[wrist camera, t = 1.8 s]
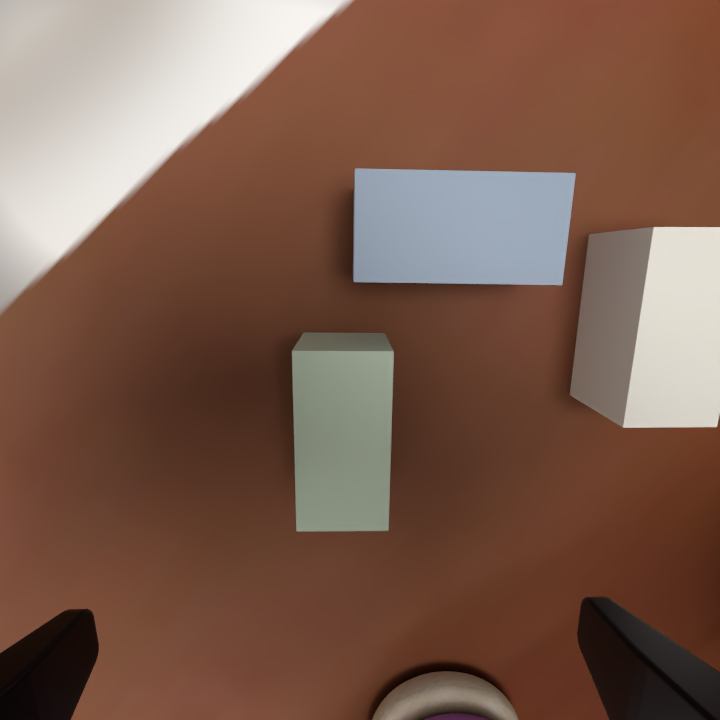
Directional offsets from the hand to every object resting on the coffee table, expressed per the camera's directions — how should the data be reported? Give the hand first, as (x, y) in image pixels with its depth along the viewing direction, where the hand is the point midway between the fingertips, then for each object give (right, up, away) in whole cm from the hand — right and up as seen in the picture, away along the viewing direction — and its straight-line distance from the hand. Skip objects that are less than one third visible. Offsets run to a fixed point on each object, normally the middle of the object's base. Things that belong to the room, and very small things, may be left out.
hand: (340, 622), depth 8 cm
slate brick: (+4, +10, +10) cm, 14 cm away
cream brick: (+12, +7, +11) cm, 17 cm away
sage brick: (0, +3, +11) cm, 12 cm away
